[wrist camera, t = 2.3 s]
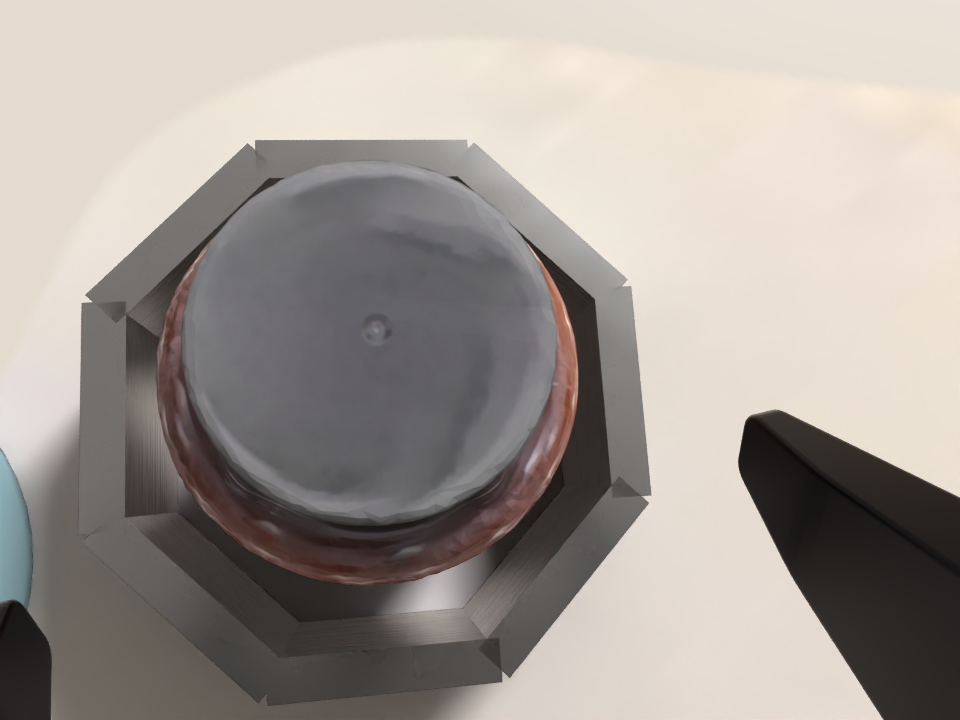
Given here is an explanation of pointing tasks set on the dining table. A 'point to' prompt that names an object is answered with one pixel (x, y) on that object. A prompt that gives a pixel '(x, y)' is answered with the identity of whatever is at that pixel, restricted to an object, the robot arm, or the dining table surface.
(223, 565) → the grey octagonal bowl
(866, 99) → the dining table surface
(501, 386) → the supplement bottle
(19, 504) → the teal mat
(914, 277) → the dining table surface
